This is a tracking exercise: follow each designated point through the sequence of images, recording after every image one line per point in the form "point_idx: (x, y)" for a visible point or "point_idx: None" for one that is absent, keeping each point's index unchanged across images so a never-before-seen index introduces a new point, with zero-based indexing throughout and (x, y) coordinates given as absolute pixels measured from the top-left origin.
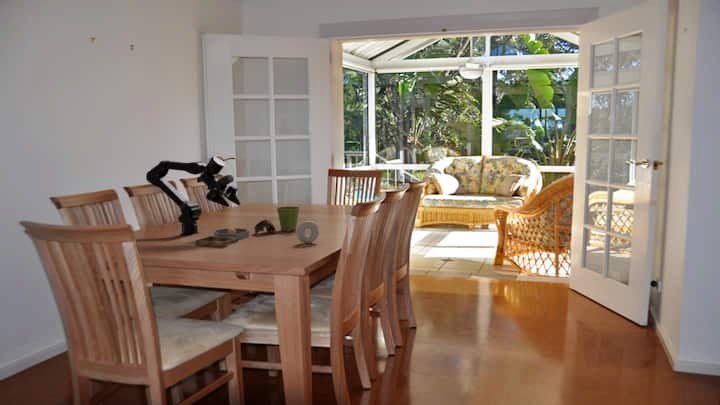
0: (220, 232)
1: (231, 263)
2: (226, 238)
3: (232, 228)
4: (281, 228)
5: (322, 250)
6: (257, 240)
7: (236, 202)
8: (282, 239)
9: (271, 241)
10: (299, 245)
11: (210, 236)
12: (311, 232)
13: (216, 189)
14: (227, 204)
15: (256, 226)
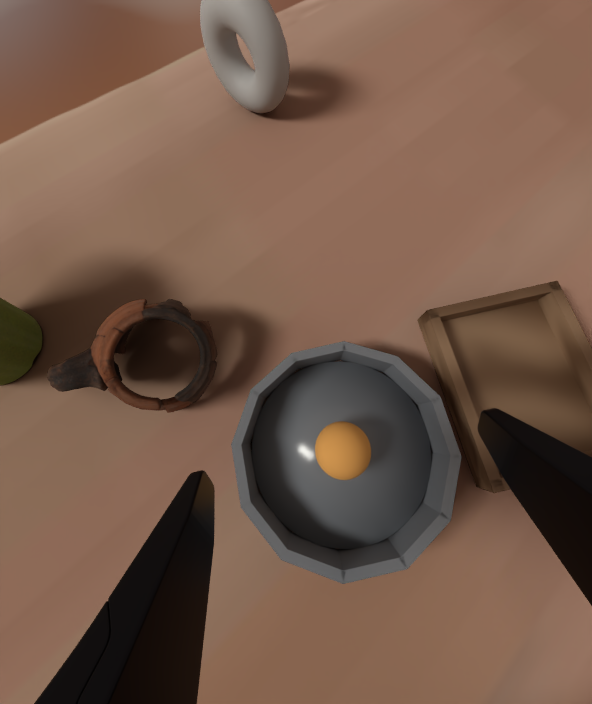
0: (340, 560)
1: None
2: (457, 371)
3: (345, 441)
4: (23, 364)
5: (333, 17)
6: (314, 291)
7: (202, 542)
8: (236, 221)
9: (299, 228)
10: (306, 105)
11: (501, 481)
12: (234, 50)
13: None
14: (522, 428)
15: (160, 402)
